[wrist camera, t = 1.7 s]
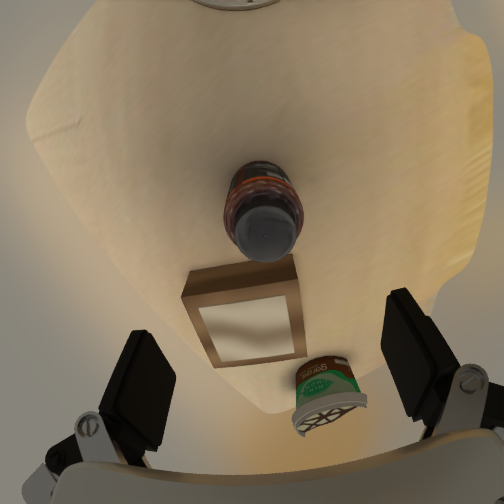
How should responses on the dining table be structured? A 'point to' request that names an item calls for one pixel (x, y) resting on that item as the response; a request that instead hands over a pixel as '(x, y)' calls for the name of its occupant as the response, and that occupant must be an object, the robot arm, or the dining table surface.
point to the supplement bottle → (263, 212)
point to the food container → (325, 393)
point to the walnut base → (247, 312)
